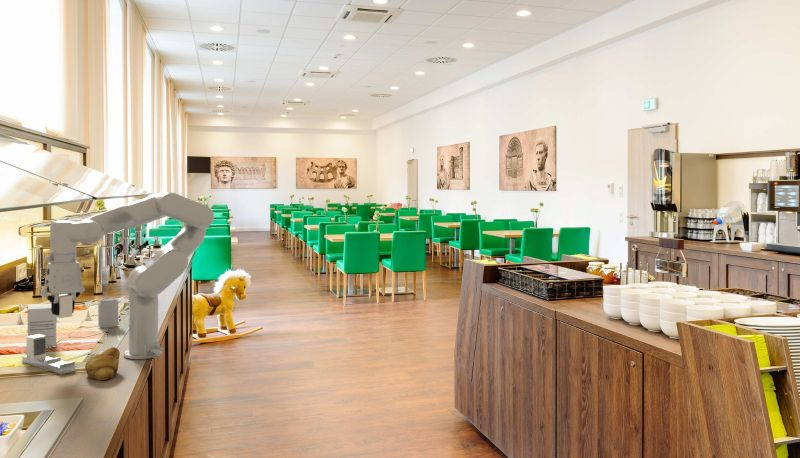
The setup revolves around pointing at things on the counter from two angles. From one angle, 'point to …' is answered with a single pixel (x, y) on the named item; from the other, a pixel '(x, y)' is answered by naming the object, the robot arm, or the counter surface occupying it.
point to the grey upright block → (108, 313)
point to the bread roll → (103, 364)
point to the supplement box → (42, 322)
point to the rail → (44, 356)
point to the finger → (65, 306)
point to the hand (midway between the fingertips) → (63, 313)
